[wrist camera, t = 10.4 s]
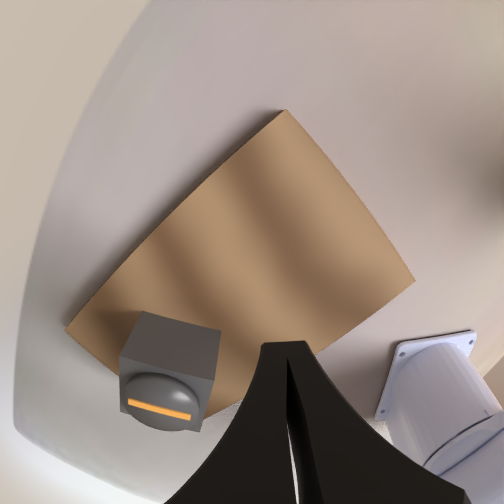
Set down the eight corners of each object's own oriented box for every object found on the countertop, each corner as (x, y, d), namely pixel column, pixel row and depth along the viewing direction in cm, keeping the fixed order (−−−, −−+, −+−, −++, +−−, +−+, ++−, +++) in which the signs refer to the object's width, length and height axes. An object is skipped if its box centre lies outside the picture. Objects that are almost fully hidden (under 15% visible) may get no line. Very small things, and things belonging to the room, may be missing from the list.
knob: (221, 330, 20) (212, 393, 15) (206, 384, 22) (197, 443, 17) (142, 310, 20) (114, 366, 15) (138, 366, 22) (116, 421, 17)
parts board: (284, 110, 16) (286, 109, 15) (408, 272, 20) (415, 280, 19) (71, 321, 22) (64, 330, 20) (192, 415, 25) (190, 425, 24)
